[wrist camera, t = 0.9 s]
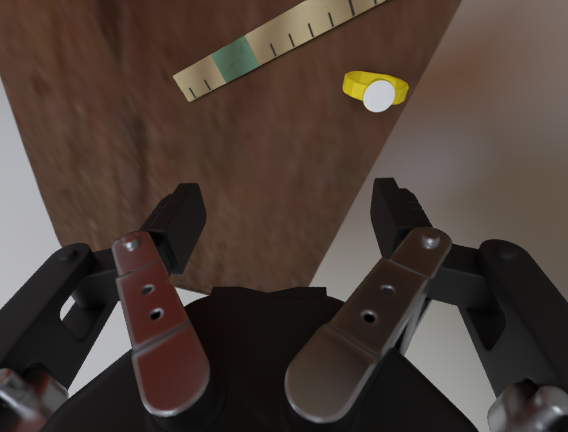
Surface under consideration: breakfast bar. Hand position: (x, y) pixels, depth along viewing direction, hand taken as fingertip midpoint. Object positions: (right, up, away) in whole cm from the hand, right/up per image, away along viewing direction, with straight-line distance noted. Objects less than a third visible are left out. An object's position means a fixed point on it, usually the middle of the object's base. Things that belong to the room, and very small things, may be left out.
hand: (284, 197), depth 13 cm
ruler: (-1, +17, +15) cm, 23 cm away
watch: (+9, +13, +17) cm, 24 cm away
